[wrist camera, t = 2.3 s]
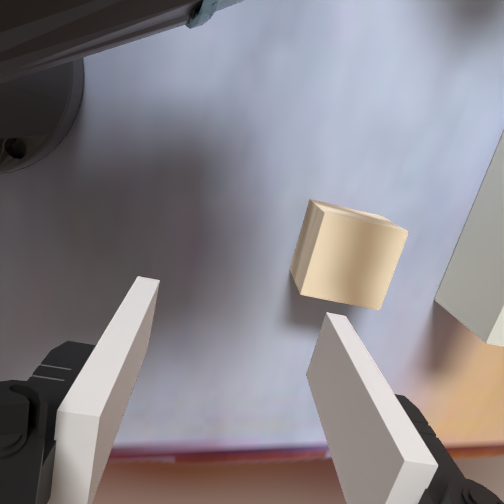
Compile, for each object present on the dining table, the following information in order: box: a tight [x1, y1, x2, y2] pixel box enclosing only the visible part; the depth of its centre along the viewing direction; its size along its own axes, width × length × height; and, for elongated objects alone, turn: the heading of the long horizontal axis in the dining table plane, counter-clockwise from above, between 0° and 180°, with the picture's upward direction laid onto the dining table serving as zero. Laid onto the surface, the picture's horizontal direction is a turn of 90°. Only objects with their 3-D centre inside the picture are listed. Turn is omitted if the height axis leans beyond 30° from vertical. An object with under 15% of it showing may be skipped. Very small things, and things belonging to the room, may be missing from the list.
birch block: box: [290, 199, 409, 310], centre depth 29 cm, size 6×6×5 cm
